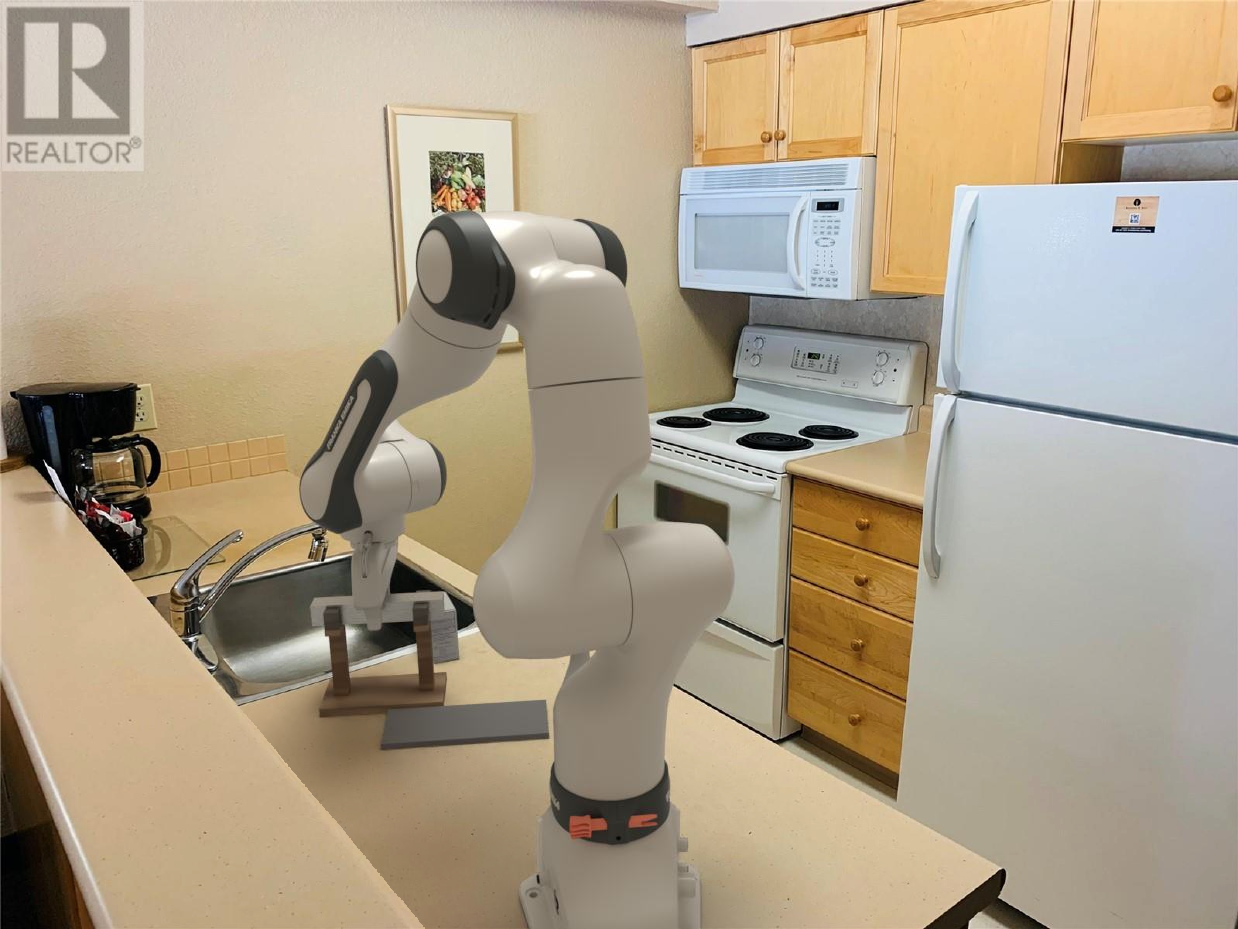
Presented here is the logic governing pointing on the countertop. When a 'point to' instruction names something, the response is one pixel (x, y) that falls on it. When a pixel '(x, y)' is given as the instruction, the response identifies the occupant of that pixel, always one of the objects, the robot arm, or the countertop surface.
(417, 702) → the rail stand
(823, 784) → the countertop surface
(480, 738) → the rubber mat
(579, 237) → the robot arm
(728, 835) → the countertop surface
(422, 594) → the steel rail
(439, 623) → the medicine box
